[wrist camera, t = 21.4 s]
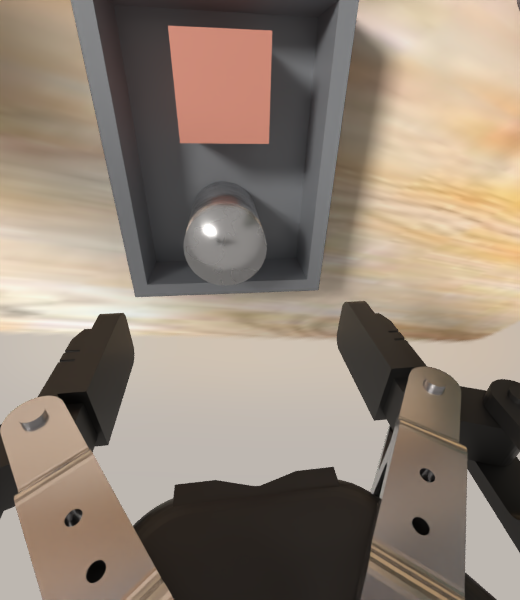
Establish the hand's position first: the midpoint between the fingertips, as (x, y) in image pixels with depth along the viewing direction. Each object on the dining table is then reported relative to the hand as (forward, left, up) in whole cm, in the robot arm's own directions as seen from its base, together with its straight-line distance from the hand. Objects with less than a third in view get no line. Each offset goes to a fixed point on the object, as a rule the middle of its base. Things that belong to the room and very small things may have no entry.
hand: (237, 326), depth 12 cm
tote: (-4, 0, -16) cm, 17 cm away
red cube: (-8, 0, -15) cm, 17 cm away
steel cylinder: (0, 0, -15) cm, 15 cm away
